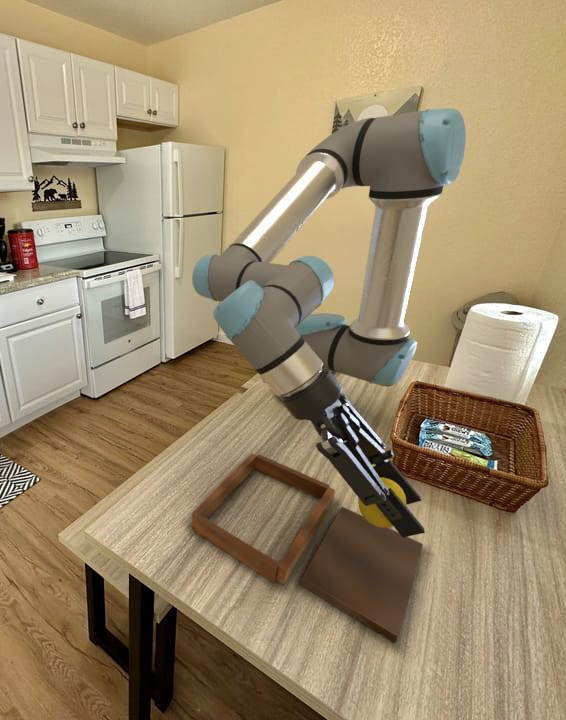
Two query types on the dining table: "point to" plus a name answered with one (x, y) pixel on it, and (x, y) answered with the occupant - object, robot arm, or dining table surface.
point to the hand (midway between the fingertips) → (412, 516)
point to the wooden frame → (244, 550)
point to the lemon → (374, 512)
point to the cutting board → (365, 572)
